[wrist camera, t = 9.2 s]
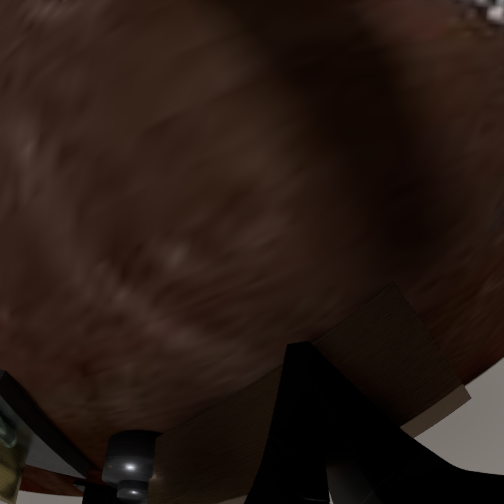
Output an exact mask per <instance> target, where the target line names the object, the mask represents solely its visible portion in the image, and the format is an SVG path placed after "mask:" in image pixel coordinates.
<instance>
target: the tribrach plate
mask: <svg viewBox="0 0 504 504" xmlns="http://www.w3.org/2000/svg"><path fill="white" fill-rule="evenodd" d="M25 464H28V465H32V466H35V467H38V468H42V469H46V470H49V471H53V472H57V473H61V474H66V475H70V476H75V477H79V478H84V479H87V474H88V469H89V463H88V462H87V461H85V460H84V459H83V458H82V457H81V456H80V455H79V454H78V453H77V452H76V451H75V450H74V449H73V448H72V447H71V446H69V445H68V444H67V443H66V442H65V441H64V440H63V439H62V438H61V437H60V435H59V434H58V433H57V432H56V431H55V430H54V429H53V428H52V427H51V426H50V425H49V424H48V423H47V422H46V421H45V419H44V418H43V417H42V416H41V415H40V414H39V413H38V412H37V410H36V409H35V408H34V407H33V406H32V405H31V403H30V402H29V401H28V400H27V399H26V397H25V396H24V395H23V394H22V392H21V391H20V390H19V389H18V387H17V386H16V385H15V383H14V382H13V381H12V379H11V378H10V377H9V375H8V374H7V373H6V371H3V370H0V500H1V501H3V502H6V503H8V504H16V499H17V495H18V491H19V487H20V483H21V479H22V475H23V471H24V468H25Z"/></svg>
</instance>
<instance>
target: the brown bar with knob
mask: <svg viewBox="0 0 504 504" xmlns="http://www.w3.org/2000/svg"><path fill="white" fill-rule="evenodd" d="M312 345H313V346H314V347H315V348H316V349H317V350H318V351H319V352H320V353H321V354H323V355H324V356H325V357H326V358H327V359H328V360H329V361H330V362H331V363H332V364H333V365H334V366H335V367H336V368H337V369H338V370H339V371H340V372H341V373H342V374H343V375H344V376H345V377H346V378H347V379H348V380H349V381H351V382H352V383H353V384H354V385H355V386H356V387H357V388H358V389H359V390H360V391H361V392H362V393H363V394H364V395H365V396H366V397H367V398H368V399H369V400H370V401H372V402H373V403H374V404H375V405H376V406H377V407H378V408H379V409H380V410H381V411H382V414H383V413H384V414H385V415H387V416H388V417H389V418H390V419H391V420H392V421H393V422H394V423H395V424H396V425H397V426H399V427H400V428H401V429H402V430H403V431H404V432H406V433H407V434H408V435H410V436H411V437H412V438H414V437H416V436H418V435H419V434H421V433H423V432H424V431H426V430H427V429H429V428H430V427H432V426H433V425H435V424H436V423H438V422H439V421H440V420H442V419H444V418H445V417H446V416H448V415H449V414H451V413H452V412H454V411H455V410H456V409H458V408H459V407H460V406H462V405H463V404H464V403H466V402H467V401H468V400H470V399H471V397H470V395H469V394H468V392H467V390H466V388H465V387H464V385H463V383H462V382H461V380H460V379H459V377H458V375H457V374H456V372H455V371H454V369H453V367H452V366H451V364H450V363H449V361H448V360H447V358H446V356H445V355H444V353H443V352H442V350H441V349H440V347H439V346H438V344H437V343H436V341H435V340H434V338H433V337H432V335H431V334H430V332H429V331H428V330H427V328H426V327H425V325H424V324H423V322H422V321H421V320H420V318H419V317H418V315H417V314H416V312H415V311H414V310H413V308H412V307H411V305H410V304H409V303H408V301H407V300H406V299H405V297H404V296H403V295H402V293H401V292H400V290H399V289H398V288H397V286H396V285H395V284H394V282H391V283H390V284H389V285H388V286H387V287H385V288H384V289H383V290H382V291H381V292H379V293H378V294H377V295H376V296H374V297H373V298H372V299H371V300H369V301H368V302H367V303H366V304H364V305H363V306H362V307H361V308H359V309H358V310H357V311H356V312H354V313H353V314H352V315H350V316H349V317H348V318H346V319H345V320H344V321H342V322H341V323H340V324H338V325H337V326H336V327H334V328H333V329H332V330H330V331H329V332H328V333H326V334H325V335H324V336H322V337H321V338H319V339H318V340H317V341H315V342H314V343H312ZM282 367H283V364H282V365H280V366H279V367H277V368H276V369H274V370H273V371H271V372H270V373H268V374H267V375H265V376H263V377H262V378H260V379H259V380H257V381H256V382H254V383H252V384H251V385H249V386H248V387H246V388H244V389H243V390H241V391H239V392H238V393H236V394H234V395H233V396H231V397H229V398H228V399H226V400H224V401H223V402H221V403H219V404H217V405H216V406H214V407H212V408H210V409H209V410H207V411H205V412H203V413H202V414H200V415H198V416H196V417H194V418H193V419H191V420H189V421H187V422H185V423H183V424H181V425H179V426H178V427H176V428H174V429H172V430H170V431H168V432H166V433H164V434H162V435H160V436H155V435H150V434H145V433H137V432H121V433H117V434H114V435H112V436H111V437H110V438H109V441H108V446H107V452H106V457H105V463H104V468H103V474H102V480H103V481H104V482H105V483H106V484H107V485H109V486H111V487H112V488H114V489H116V490H117V498H118V499H119V500H121V501H123V502H125V503H128V504H244V502H245V500H246V497H247V495H248V493H249V491H250V489H251V486H252V484H253V482H254V479H255V477H256V474H257V472H258V469H259V466H260V463H261V460H262V456H263V453H264V449H265V445H266V441H267V438H268V433H269V428H270V424H271V420H272V415H273V411H274V406H275V401H276V397H277V392H278V387H279V382H280V377H281V372H282Z"/></svg>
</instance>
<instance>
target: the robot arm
mask: <svg viewBox="0 0 504 504" xmlns="http://www.w3.org/2000/svg"><path fill="white" fill-rule="evenodd" d="M73 485H74V486H75V487H77V488H78V489H80V490H81V491H83V492H84V494H83V501H82V504H128V503H125V502H123V501H121V500H119V499H118V498H117V490H116V489H114V488H109V487H103V486H97V485H92V484H87V483H82V482H77V481H74V482H73ZM329 492H330V494H331V498H332V501H333V504H504V475H498V474H488V473H481V472H474V471H468V470H464V469H461V468H458V467H456V466H453V465H452V464H450V463H448V462H447V461H445V460H444V459H442V458H440V457H439V456H438V455H436V454H435V453H434V452H432V451H431V450H429V449H428V448H426V447H425V446H423V445H422V444H421V443H419V442H418V441H416V440H415V439H414V438H412V437H411V436H410V435H408V434H407V433H406V432H404V431H403V430H402V429H401V428H400V427H399V426H397V425H396V424H395V423H394V422H393V421H392V420H391V419H390V418H389V417H388V416H387V415H385V414H384V413H383V414H382V411H381V410H380V409H379V408H378V407H377V406H376V405H375V404H374V403H373V402H372V401H370V400H369V399H368V398H367V397H366V396H365V395H364V394H363V393H362V392H361V391H360V390H359V389H358V388H357V387H356V386H355V385H354V384H353V383H352V382H351V381H349V380H348V379H347V378H346V377H345V376H344V375H343V374H342V373H341V372H340V371H339V370H338V369H337V368H336V367H335V366H334V365H333V364H332V363H331V362H330V361H329V360H328V359H327V358H326V357H325V356H324V355H323V354H321V353H320V352H319V351H318V350H317V349H316V348H315V347H314V346H313V345H312V344H311V343H310V342H308V341H305V342H299V343H292V344H288V345H287V347H286V352H285V357H284V362H283V367H282V372H281V377H280V382H279V387H278V392H277V397H276V401H275V406H274V411H273V415H272V420H271V424H270V428H269V433H268V438H267V441H266V445H265V449H264V453H263V456H262V460H261V463H260V466H259V469H258V472H257V474H256V477H255V479H254V482H253V484H252V486H251V489H250V491H249V493H248V495H247V497H246V500H245V502H244V504H330V503H329V502H330V498H329Z"/></svg>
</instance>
